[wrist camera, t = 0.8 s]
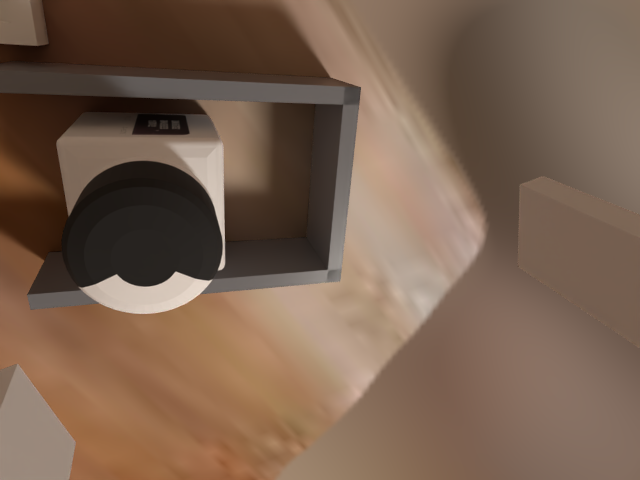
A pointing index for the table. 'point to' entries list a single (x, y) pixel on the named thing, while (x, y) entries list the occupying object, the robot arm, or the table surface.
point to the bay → (326, 93)
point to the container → (143, 208)
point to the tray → (22, 23)
